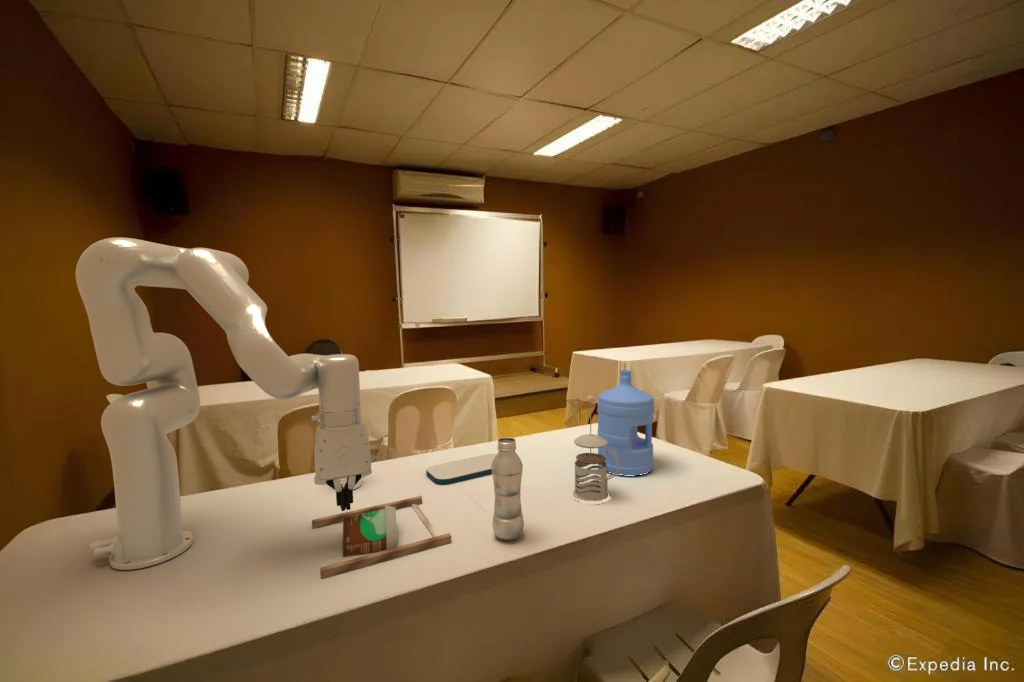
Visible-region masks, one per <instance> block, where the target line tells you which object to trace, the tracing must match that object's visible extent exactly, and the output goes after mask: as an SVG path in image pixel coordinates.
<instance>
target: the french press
mask: <svg viewBox="0 0 1024 682" xmlns="http://www.w3.org/2000/svg"><path fill="white" fill-rule="evenodd" d="M595 399H596V398H595V397H594V396H593V395H587V397H586V401H587V402H589V404H590V405H589V411H590V412H589V414H590V415H589V417H590V418H589V419H590V420H589V421H590V422H589V423H590V424H589V431H590V433H589V434H588V433H587V434H582V435H580V436H578V437H576V438H575V439H574V440H573V443H574V445H575V446H577V447H580V448H583V449H590V450H589V451H590V452H583V453H579V454H577V455H576V456H575V459H576V461H574V490H573V491H572V492H573V496H574V497H575V498H577V499H580V500H584V501H594V502H595V501H601V500H603V499H606V498H607V497H608V493H609V492H608V487H609V486H608V482H609V481H608V480H612V479H613V478H614V477H615V476H617V475H616V473H617V471H618V468H619V459H618V456H617V454H616V453H615V452H614V451H613V450H612V449H610V448H607V450H606V455H607V453H608V451H609V450H608V449H610V450H612V451H613V452H614V453H615V454H616V456H617V458H616V456H615V455H614V454H613V453H612V452H611V451H609V452H611V453H612V454H613V455H614V456H615V458H616V461H617V470H616V472H615V473H614V474H611V475H607V473H608V472H607V464H606V463H605V462H604V461H605V460H606V459H605V457H604V456H603V455H600V454H598V453H595V452H592V449H598V448H602V447H605V446H606V445H607V440H605V439H603V438H602V437H600V436H598V434H594V433H593V434H592V402H595ZM617 459H618V460H617ZM598 464H600V465H602V466H603V467H604V468H601V467H599V466H598ZM589 465H591V466H589ZM587 466H589V467H587ZM584 467H587V468H584ZM590 475H591V476H590ZM589 480H591V481H589ZM587 481H588V482H587Z"/></svg>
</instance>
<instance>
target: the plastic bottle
mask: <svg viewBox="0 0 1024 682" xmlns="http://www.w3.org/2000/svg"><path fill="white" fill-rule="evenodd" d="M516 442H517V441H516V439H515V437H514V438H513V437H509V436H508V437H501V438H499V439H497V451H498V452H497V453H496V454H497V455H496V456H495V458H494V460H493V462H492V466H491V467H492V474H491V476H492V480H493V487H494V489H493V490H494V505H493V506H494V508H493V509H494V510H493V515H492V525H491V526H492V530H493V533H494V535H495V536H496V537H497V538H498V539H501V541H502V540H503V541H513V540H516V539H518V538H520V536H521V535H523V532H524V526H525V520H524V515H523V511H522V503H521V499H522V498H521V489H522V488H521V486H522V485H521V484H522V476H523V467H524V466H523V462H522V459H521V458H520V456H519V454H518V453H517V452H516V450H517V445H516V444H517V443H516Z"/></svg>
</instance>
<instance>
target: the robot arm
mask: <svg viewBox="0 0 1024 682" xmlns="http://www.w3.org/2000/svg"><path fill="white" fill-rule="evenodd" d="M249 274H250V273H249V270H248V267H247V265H246V264H245V263H244V261H243V260H242V259H241V258H240V257H238V256H236V255H234V254H233V253H230V252H226V251H221V250H217V249H212V248H206V247H193V248H187V247H186V248H185V247H178V246H174V245H172V246H171V245H167V244H163V243H157V242H152V241H148V240H143V239H137V238H131V237H108V238H103V239H101V240H98V241H96V242H94V243H91V244H90V245H89V246H88V247H86V249H85V250H84V251H83V252H82V253H81V255H80V257H79V259H78V261H77V263H76V267H75V281H76V286H77V289H78V292H79V295H80V298H81V301H82V302H83V305H84V308H85V311H86V314H87V318H88V321H89V328H90V333H91V336H92V337H91V338H92V342H93V346H94V350H95V354H96V358H97V363H98V366H99V370H100V373H101V375H102V377H103V378H104V379H105V380H106V381H107V382H108V383H110V384H111V385H115V386H122V387H123V386H125V387H126V386H127V387H128V386H134V385H135V386H136V385H141V384H145V383H146V387H147V388H146V389H141V390H138V391H135V392H131V393H127V394H125V395H123V396H120V397H118V398H117V399H114V400H113V401H112V402H111V403H109V404H108V405H107V407H105V409H104V411H103V413H102V415H101V420H100V425H101V430H102V434H103V437H104V439H105V442H106V445H107V447H108V451H109V456H110V460H111V469H112V477H113V488H114V496H115V497H114V499H115V507H116V508H115V510H116V520H117V521H116V522H117V531H118V533H117V534H118V535H114V536H112V538H108V539H100V540H95V541H91V542H90V544H89V553H90V554H91V553H93V556H94V557H97V556H102V555H105V554H109V553H110V554H111V555H110V556H109V558H108V559H109V565H110V567H111V568H113V569H115V570H121V571H122V570H123V571H132V570H139V569H143V568H148V567H151V566H154V565H158V564H162V563H163V562H167V561H168V560H171V559H174V558H175V557H177V556H179V555H180V554H182V553H184V552H185V551H186V550H188V549H189V548H190V547H191V546H192V544H193V543H194V536H193V533H192V532H191V531H188V530H183V516H182V505H181V503H182V502H181V491H180V478H179V467H178V465H179V464H178V458H177V454H176V451H175V448H174V446H173V445H172V443H171V442H170V440H169V438H168V437H169V436H168V434H169V433H172V432H174V431H177V430H179V429H181V428H183V427H185V426H187V425H189V424H190V423H192V422H193V421H195V419H196V418H197V417H198V415H199V412H200V409H201V397H200V392H199V387H198V383H197V378H196V372H195V368H194V363H193V359H192V355H191V352H190V351H189V348H188V347H187V345H186V344H185V342H184V341H183V340H182V339H180V338H179V337H177V336H176V335H173V334H171V333H168V332H167V333H166V332H154V331H153V327H152V323H151V318H150V314H149V311H148V308H147V306H146V304H145V303H144V301H143V300H142V298H141V297H140V296H139V294H138V293H137V292H136V290H135V289H136V287H138V286H140V287H153V288H166V289H167V288H170V289H181V290H186V291H187V292H188V294H190V295H191V297H192V298H194V299H195V301H196V302H197V303H198V304H199V305H200V306H201V307H202V308H203V309H204V310H205V312H207V313H208V314H209V316H211V317H212V319H213V320H214V321H215V322H216V323H217V324H218V325H219V326H220V328H222V329H223V331H224V332H225V335H226V338H227V342H228V345H229V347H230V350H231V353H232V355H233V357H234V359H235V361H236V362H237V364H238V366H239V367H240V368H241V369H242V371H243V372H244V373H245V374H246V375H247V376H248V377H249V378H250V380H252V382H254V384H256V385H257V386H258V387H259V389H260V390H262V391H263V392H264V393H266V394H267V395H269V396H270V397H272V398H274V399H278V400H291V399H294V398H297V397H299V396H300V395H302V394H304V393H308V392H310V391H313V390H317V389H318V405H319V406H318V407H319V408H318V409H319V410H318V412H317V413H315V414H311V423H315V422H316V423H318V425H317V426H316V430H315V436H314V437H315V438H314V440H315V441H314V469H315V474H314V480H313V482H314V484H315V485H320V486H321V485H322V486H325V485H327V486H329V488H331V489H333V490H334V491H335V499H336V500H335V501H336V505H337V506H336V507H340V510H341V512H344V511H345V510H347V511H349V510H351V504H354V490H353V488H354V487H355V485H356V484H357V482H358V481H359V480H360V479H361V478H362V479H363V478H366V477H367V476H369V475H372V472H373V470H372V455H371V446H370V445H371V443H370V437H369V432H368V427H367V423H366V422H365V421H364V420H362V411H361V409H362V408H361V390H360V389H361V387H360V385H361V384H360V366H359V365H360V363H359V359H358V358H357V357H356V355H355V354H354V355H353V354H349V353H348V354H347V353H343V354H342V353H341V354H340V353H337V354H329V355H325V354H324V355H321V354H313V353H297V354H293V355H290V356H288V354H287V353H286V352H285V351H284V350H283V349H282V348H281V347H280V346H279V345H278V344H277V342H276V341H275V340H274V339H273V337H272V336H271V334H270V333H269V331H268V329H267V326H266V316H267V314H268V313H267V312H268V307H267V304H266V303H265V301H264V300H263V299H262V298H261V297H260V296H259V295H258V294H257V293H256V292H255V291H254V290H253V288H251V287H250V285H248V282H249V279H250V278H249V277H250V275H249ZM343 477H347V480H346V484H345V487H344V488H343V486H342V484H341V482H340V478H343Z"/></svg>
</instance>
